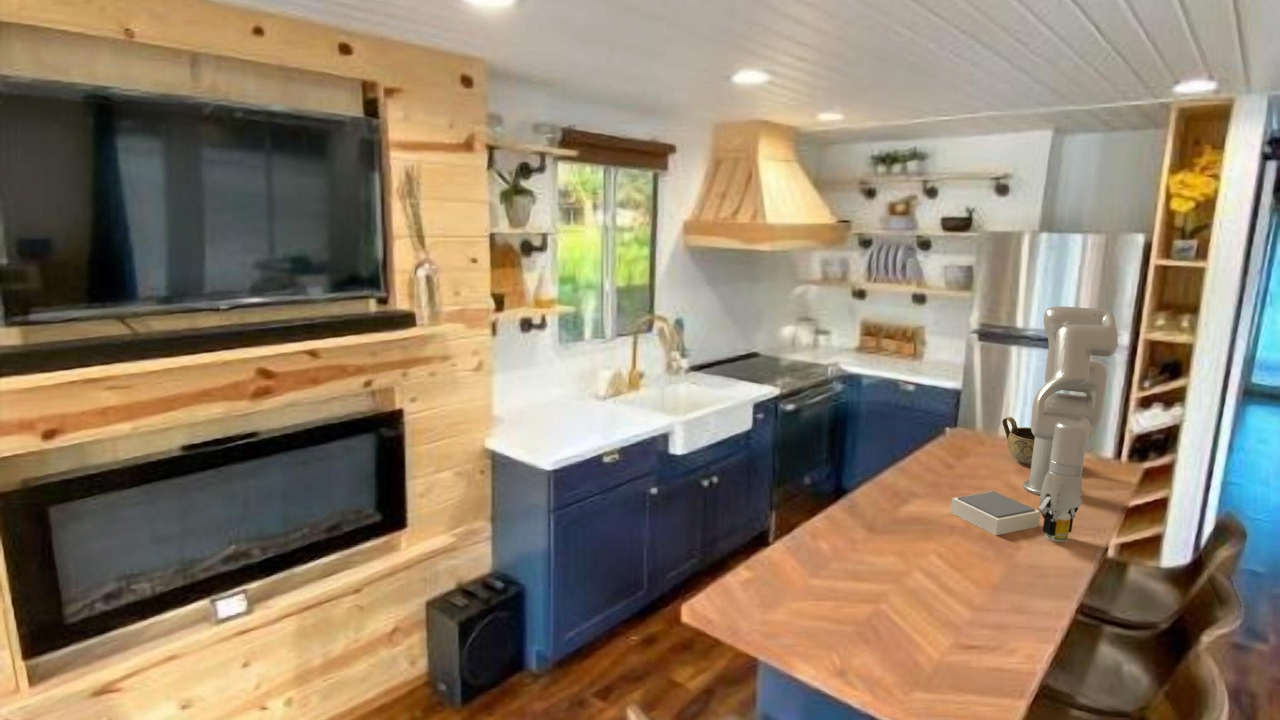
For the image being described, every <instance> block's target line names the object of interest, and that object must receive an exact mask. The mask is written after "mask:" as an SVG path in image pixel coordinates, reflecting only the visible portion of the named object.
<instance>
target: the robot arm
mask: <svg viewBox="0 0 1280 720" xmlns="http://www.w3.org/2000/svg"><path fill="white" fill-rule="evenodd" d="M1043 327H1044V331H1045V333H1046V337H1047V340H1048V342H1047V343H1048V351H1047V358H1046V366H1045V374H1044V382H1045V384H1043V385H1042V386H1041V387H1040V388H1039V390H1038V391H1037V392H1036V394H1035V397H1034V399H1033V401H1032V402H1033V403H1032V408H1031V409H1032V410H1031V419H1030V420H1031V421H1030V422H1031V423H1030V428H1031V431H1032V434H1033V435H1034V436H1035V440H1034V448H1033V455H1032V463H1031V466H1030V473H1029V478H1028V479H1029V480H1028V479H1026V480H1025V481H1024V482H1023V483H1022V484H1023V485H1022V486H1023V489H1025V490H1026V491H1028V492H1030V493H1031V494H1034V495H1038V496H1040V497H1039V507H1038V508H1037V510H1038V511H1040V515H1042V518H1043V525H1042V532H1043V533H1044V534H1045V533H1047V534H1049V535H1051V536H1054V535H1055V530H1056V522H1055V519H1056V516H1057V514H1058V511H1063V510H1067V509H1069V511H1068V513H1069V514H1070V516H1071V520H1070V526H1069V533H1071V532H1072V529H1073V522H1074V519H1075V517H1076V513H1077V512H1078V511H1079V508H1080V507H1081V506H1082V505H1083V501H1082V492H1083V476H1082V475H1083V469H1084V461H1085V454H1086V446H1087V441H1088V440H1090V439H1091V438H1092V433H1093V428H1095V427H1097V426H1098V425H1099V423H1100V422H1101V419H1102V415H1103V407H1104V402H1105V401H1104V400H1105V396H1106V395H1105V394H1106V388H1107V379H1108V376H1107V368H1106V366H1104V364H1103V363H1100V362H1097V361H1091V356H1093V357H1108V358H1109V357H1112V356H1113V355H1114V354H1115V352H1116V351H1117V347H1118V339H1119V338H1118V329H1117V324H1116V319H1115V315H1114V313H1113V312H1112V311H1111V310H1109V309H1105V308H1093V307H1080V306H1052V307H1049V308H1046V310H1045V311H1044V314H1043ZM1059 391H1060V392H1059ZM1061 391H1065V392H1066V391H1067V392H1076V393H1084V394H1086V395H1081V394H1080V395H1079V394H1072V393H1062V392H1061ZM1050 511H1052V512H1053V513H1052V516H1051V514H1050V513H1049V512H1050Z"/></svg>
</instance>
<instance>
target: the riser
mask: <svg viewBox="0 0 1280 720" xmlns="http://www.w3.org/2000/svg"><path fill="white" fill-rule="evenodd" d="M950 514H952V515H953V516H954V515H955V516H956V517H958V516H959V517H958V518H960V519H962V518H963V519H962V520H964V521H966V522H968V523H970V524H972V525H974V526H976V525H977V526H976V527H978V528H980V529H983V530H984V531H986V532H987V533H989V534H992V535H994V536H999V535H1001V536H1002V535H1004V534H1005V535H1006V534H1010V533H1015V532H1019V531H1020V532H1021V531H1025V530H1029V529H1034V528H1038V527H1040V519H1041V513H1040V511H1039V510H1038V509H1035V508H1034V507H1031V506H1029V505H1027V504H1024V503H1022V502H1019V501H1017V500H1016V499H1013V498H1010V497H1008V496H1006V495H1003V494H1001V493H998V492H996V491H994V490H993V491H992V490H991V491H988V492H981V493H975V494H970V495H964V496H957V497H951V506H950Z"/></svg>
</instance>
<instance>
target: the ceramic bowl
mask: <svg viewBox="0 0 1280 720" xmlns="http://www.w3.org/2000/svg"><path fill="white" fill-rule="evenodd" d="M1008 421H1009V423H1010V425H1011V429H1010V428H1009V425H1008ZM1002 426H1003V429H1004V432H1005V437H1006V441H1007V449H1008V452H1009V453H1010V454H1011V456H1012V457H1013V458H1014V459H1015V460H1017V461H1018V462H1020V463H1022V464H1024V465H1027V466H1029V467H1031V463H1032V455H1033V448H1034V440H1035V436H1034V435H1033V434H1032V431H1031V427H1026V426H1025V427H1024V426H1023V427H1022V426H1021V427H1018V424H1017V422H1016V420H1015V418H1013V417H1012V416H1006V417H1005V418H1003V419H1002Z"/></svg>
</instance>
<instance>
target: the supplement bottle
mask: <svg viewBox="0 0 1280 720" xmlns="http://www.w3.org/2000/svg"><path fill="white" fill-rule="evenodd" d="M1068 511H1069V509H1067V510H1063V511H1058V514H1057V516H1056V519H1055V522H1056V530H1055V535H1054V536H1051V535H1049V534H1047V533H1045V532H1044V536H1045V538H1046V539H1048V540H1049V541H1053V542H1057V543H1065V542H1067V541H1068V538H1069V533H1070V532H1069V526H1070V520H1071V516H1070V514H1069V513H1068ZM1049 513H1050V514H1051V516H1052V513H1053V512H1052V511H1050V512H1049Z"/></svg>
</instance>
